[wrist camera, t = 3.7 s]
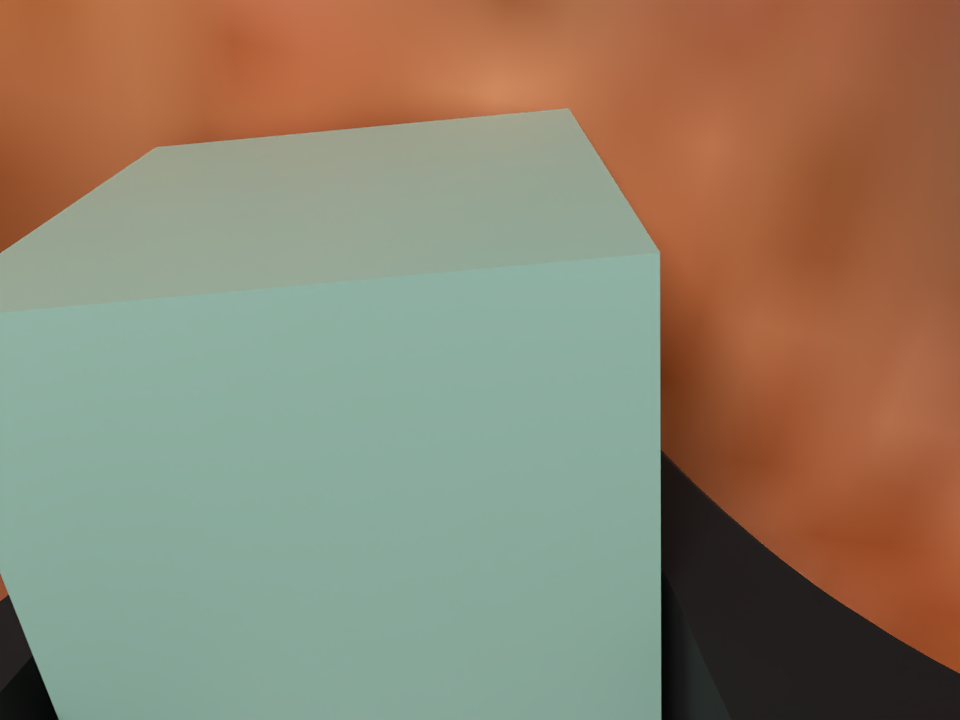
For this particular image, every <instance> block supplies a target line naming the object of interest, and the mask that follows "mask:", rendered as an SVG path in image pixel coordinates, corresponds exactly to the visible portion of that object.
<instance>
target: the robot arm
mask: <svg viewBox="0 0 960 720" xmlns="http://www.w3.org/2000/svg"><path fill="white" fill-rule="evenodd" d="M660 453H661V720H960V674H959V673H957V672H955V671H954V670H952V669H950V668H948V667H946V666H944V665H942V664H940V663H939V662H937V661H935V660H933V659H931V658H929V657H928V656H926V655H924V654H923V653H921V652H919V651H917V650H916V649H914V648H912V647H910V646H909V645H907V644H905V643H903V642H902V641H900V640H898V639H897V638H895V637H893V636H892V635H890V634H889V633H887V632H886V631H884V630H882V629H881V628H879V627H878V626H876V625H875V624H873V623H871V622H870V621H868V620H867V619H865V618H864V617H862V616H860V615H859V614H857V613H856V612H854V611H853V610H851V609H849V608H848V607H846V606H845V605H843V604H842V603H840V602H839V601H837V600H836V599H834V598H833V597H831V596H830V595H828V594H827V593H825V592H824V591H823V590H821V589H820V588H818V587H817V586H815V585H814V584H813V583H811V582H810V581H809V580H807V579H806V578H805V577H803V576H802V575H801V574H799V573H798V572H797V571H795V570H794V569H793V568H792V567H790V566H789V565H788V564H786V563H785V562H784V561H782V560H781V559H780V558H779V557H777V556H776V555H775V554H774V553H772V552H771V551H770V550H769V549H768V548H766V547H765V546H764V545H763V544H761V543H760V542H759V541H758V540H757V539H756V538H754V537H753V536H752V535H751V534H750V533H749V532H747V531H746V530H745V529H744V528H743V527H742V526H741V525H739V524H738V523H737V522H736V521H735V520H734V519H732V518H731V517H730V516H729V515H728V514H727V513H726V512H724V511H723V510H722V509H721V508H720V507H719V506H718V505H717V504H716V503H715V502H713V501H712V500H711V499H710V498H709V497H708V496H707V495H706V494H705V493H704V492H703V491H702V490H701V489H700V488H699V487H698V486H697V485H696V484H694V483H693V482H692V481H691V480H690V479H689V478H688V477H687V476H686V475H685V474H684V473H683V472H682V471H681V470H680V469H679V468H678V467H677V466H676V465H675V464H674V463H673V462H672V461H671V460H670V459H669V458H668V457H667V456H666V455H665V454H664V453H663V452H662V451H661V450H660ZM0 720H59V719H58V716H57V714H56V711H55V709H54V706H53V704H52V701H51V699H50V696H49V694H48V691H47V689H46V686H45V684H44V681H43V679H42V676H41V674H40V671H39V669H38V666H37V664H36V661H35V659H34V656H33V654H32V651H31V649H30V646H29V644H28V641H27V639H26V636H25V634H24V631H23V629H22V626H21V624H20V621H19V619H18V616H17V614H16V611H15V609H14V606H13V604H12V601H11V599H10V596H9V595H8V596H7V597H5V598H4V599H3V600H1V601H0Z"/></svg>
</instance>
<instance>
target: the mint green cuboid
mask: <svg viewBox="0 0 960 720" xmlns="http://www.w3.org/2000/svg"><path fill="white" fill-rule="evenodd" d="M0 574H1V576H2V579H3V581H4V584H5V586H6V589H7V591H8V594H9V596H10V599H11V601H12V604H13V606H14V609H15V611H16V614H17V616H18V619H19V621H20V624H21V626H22V629H23V631H24V634H25V636H26V639H27V641H28V644H29V646H30V649H31V651H32V654H33V656H34V659H35V661H36V664H37V666H38V669H39V671H40V674H41V676H42V679H43V681H44V684H45V686H46V689H47V691H48V694H49V696H50V699H51V701H52V704H53V706H54V709H55V711H56V714H57V716H58V719H59V720H661V453H660V252H659V250H658V249H657V247H656V246H655V244H654V243H653V241H652V239H651V238H650V236H649V235H648V233H647V231H646V230H645V228H644V227H643V225H642V224H641V222H640V220H639V219H638V217H637V216H636V214H635V213H634V211H633V209H632V208H631V206H630V205H629V203H628V201H627V200H626V198H625V197H624V195H623V194H622V192H621V190H620V189H619V187H618V186H617V184H616V183H615V181H614V179H613V178H612V176H611V175H610V173H609V171H608V170H607V168H606V167H605V165H604V164H603V162H602V160H601V159H600V157H599V156H598V154H597V153H596V151H595V149H594V148H593V146H592V145H591V143H590V141H589V140H588V138H587V137H586V135H585V134H584V132H583V130H582V129H581V127H580V126H579V124H578V123H577V121H576V119H575V118H574V116H573V115H572V113H571V112H570V110H569V108H565V109H554V110H544V111H533V112H523V113H512V114H502V115H491V116H480V117H470V118H459V119H449V120H438V121H428V122H417V123H406V124H396V125H385V126H375V127H364V128H354V129H343V130H333V131H322V132H311V133H301V134H290V135H280V136H269V137H259V138H248V139H237V140H227V141H216V142H206V143H195V144H185V145H174V146H163V147H155V148H154V149H152V150H151V151H149V152H148V153H147V154H145V155H144V156H142V157H141V158H139V159H138V160H136V161H135V162H133V163H132V164H130V165H129V166H127V167H126V168H125V169H123V170H122V171H120V172H119V173H117V174H116V175H114V176H113V177H111V178H110V179H108V180H107V181H106V182H104V183H103V184H101V185H100V186H98V187H97V188H95V189H94V190H92V191H91V192H89V193H88V194H86V195H85V196H84V197H82V198H81V199H79V200H78V201H76V202H75V203H73V204H72V205H70V206H69V207H67V208H66V209H64V210H63V211H62V212H60V213H59V214H57V215H56V216H54V217H53V218H51V219H50V220H48V221H47V222H45V223H44V224H43V225H41V226H40V227H38V228H37V229H35V230H34V231H32V232H31V233H29V234H28V235H26V236H25V237H23V238H22V239H21V240H19V241H18V242H16V243H15V244H13V245H12V246H10V247H9V248H7V249H6V250H4V251H3V252H1V253H0Z"/></svg>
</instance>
